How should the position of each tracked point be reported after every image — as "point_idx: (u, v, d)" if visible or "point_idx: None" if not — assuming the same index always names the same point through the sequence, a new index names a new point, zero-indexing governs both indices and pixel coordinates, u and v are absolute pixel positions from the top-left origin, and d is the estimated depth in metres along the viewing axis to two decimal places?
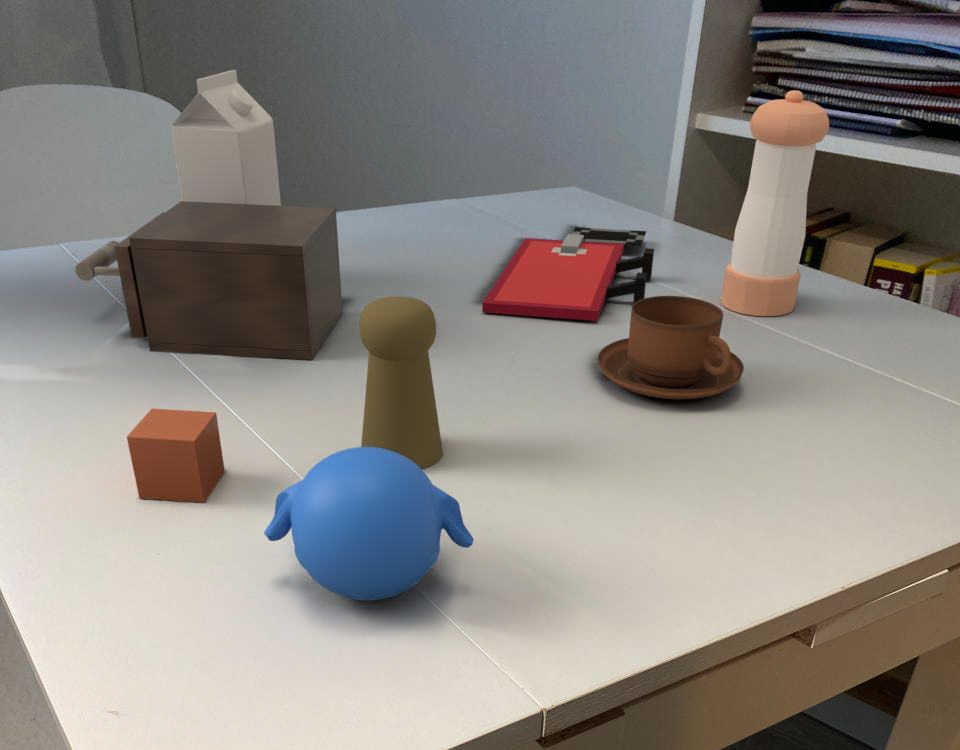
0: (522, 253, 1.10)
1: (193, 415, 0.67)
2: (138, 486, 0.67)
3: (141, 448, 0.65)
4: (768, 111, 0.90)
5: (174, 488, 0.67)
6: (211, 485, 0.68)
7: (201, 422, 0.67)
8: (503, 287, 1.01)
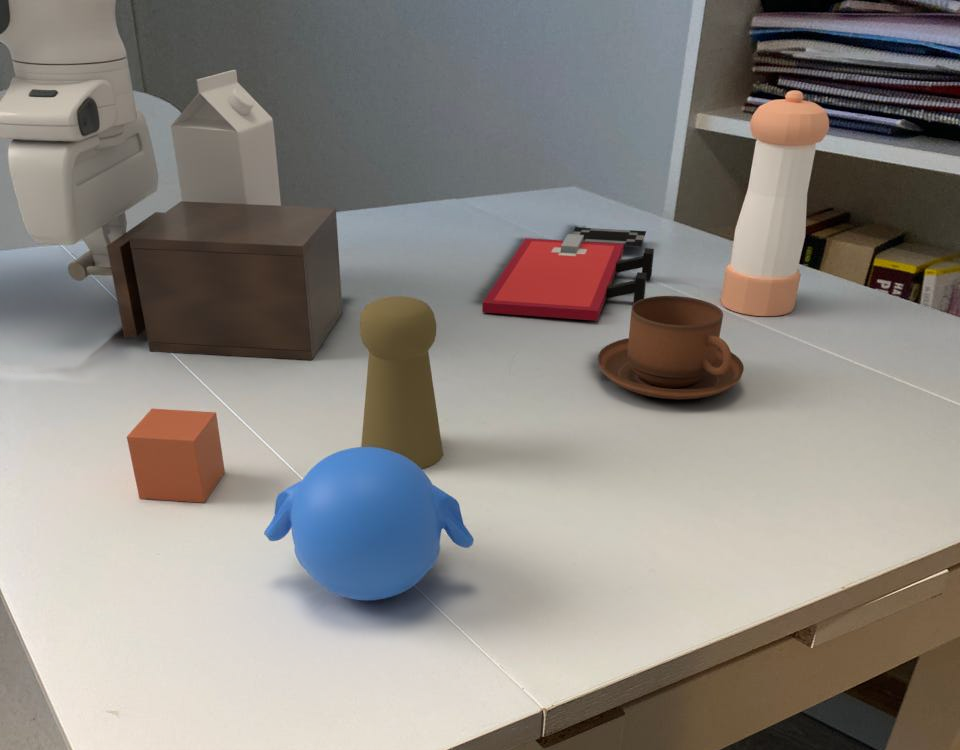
0: (522, 253, 1.10)
1: (193, 415, 0.67)
2: (138, 486, 0.67)
3: (141, 448, 0.65)
4: (768, 111, 0.90)
5: (174, 488, 0.67)
6: (211, 485, 0.68)
7: (201, 422, 0.67)
8: (503, 287, 1.01)
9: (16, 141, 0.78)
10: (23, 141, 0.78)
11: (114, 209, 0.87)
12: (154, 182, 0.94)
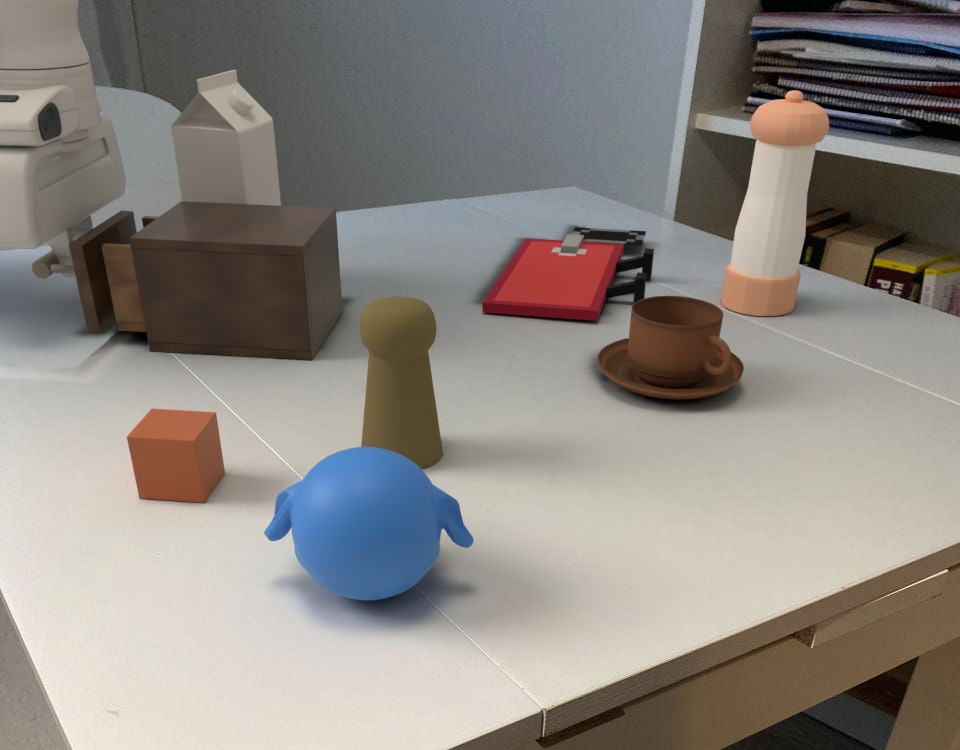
0: (522, 253, 1.10)
1: (193, 415, 0.67)
2: (138, 486, 0.67)
3: (141, 448, 0.65)
4: (768, 111, 0.90)
5: (174, 488, 0.67)
6: (211, 485, 0.68)
7: (201, 422, 0.67)
8: (503, 287, 1.01)
9: None
10: None
11: (78, 213, 0.87)
12: (121, 186, 0.95)
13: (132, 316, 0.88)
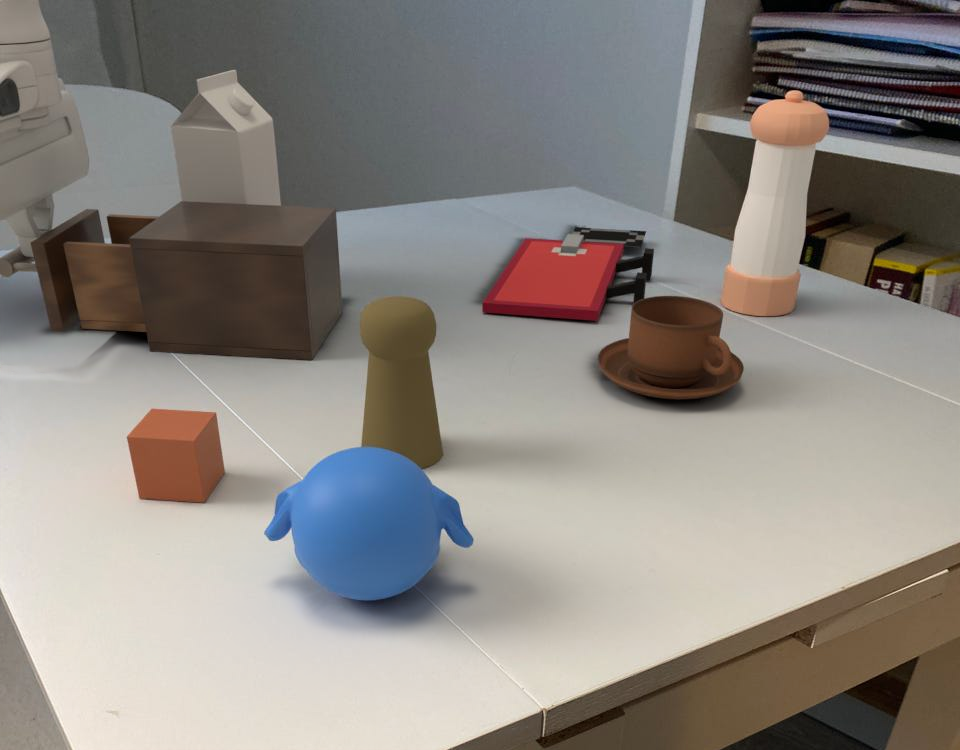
0: (522, 253, 1.10)
1: (193, 415, 0.67)
2: (138, 486, 0.67)
3: (141, 448, 0.65)
4: (768, 111, 0.90)
5: (174, 488, 0.67)
6: (211, 485, 0.68)
7: (201, 422, 0.67)
8: (503, 287, 1.01)
9: None
10: None
11: (38, 191, 0.87)
12: (84, 166, 0.94)
13: (95, 314, 0.89)
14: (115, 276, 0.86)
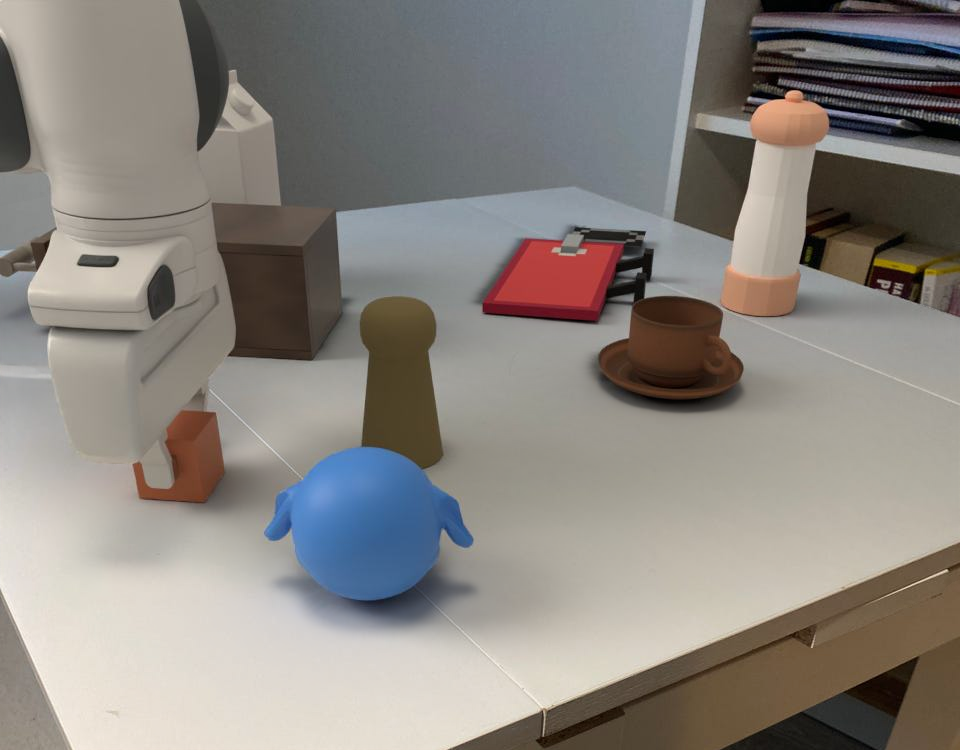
0: (522, 253, 1.10)
1: (194, 415, 0.67)
2: (138, 486, 0.67)
3: None
4: (768, 111, 0.90)
5: (174, 488, 0.67)
6: (211, 485, 0.68)
7: (201, 422, 0.67)
8: (503, 287, 1.01)
9: (59, 328, 0.55)
10: (69, 328, 0.55)
11: (186, 395, 0.64)
12: (231, 340, 0.71)
13: None
14: None
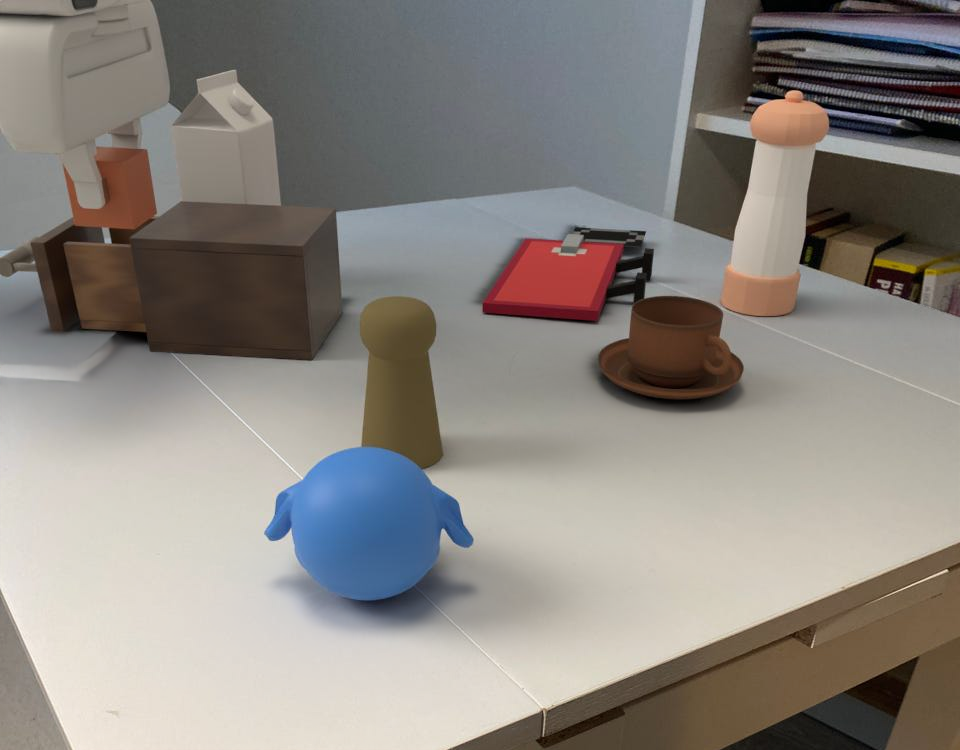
0: (522, 253, 1.10)
1: (126, 150, 0.73)
2: (73, 212, 0.73)
3: None
4: (768, 111, 0.90)
5: (106, 214, 0.72)
6: (142, 217, 0.74)
7: (132, 153, 0.72)
8: (503, 287, 1.01)
9: None
10: None
11: (115, 117, 0.69)
12: (165, 93, 0.77)
13: (95, 314, 0.89)
14: (115, 276, 0.86)
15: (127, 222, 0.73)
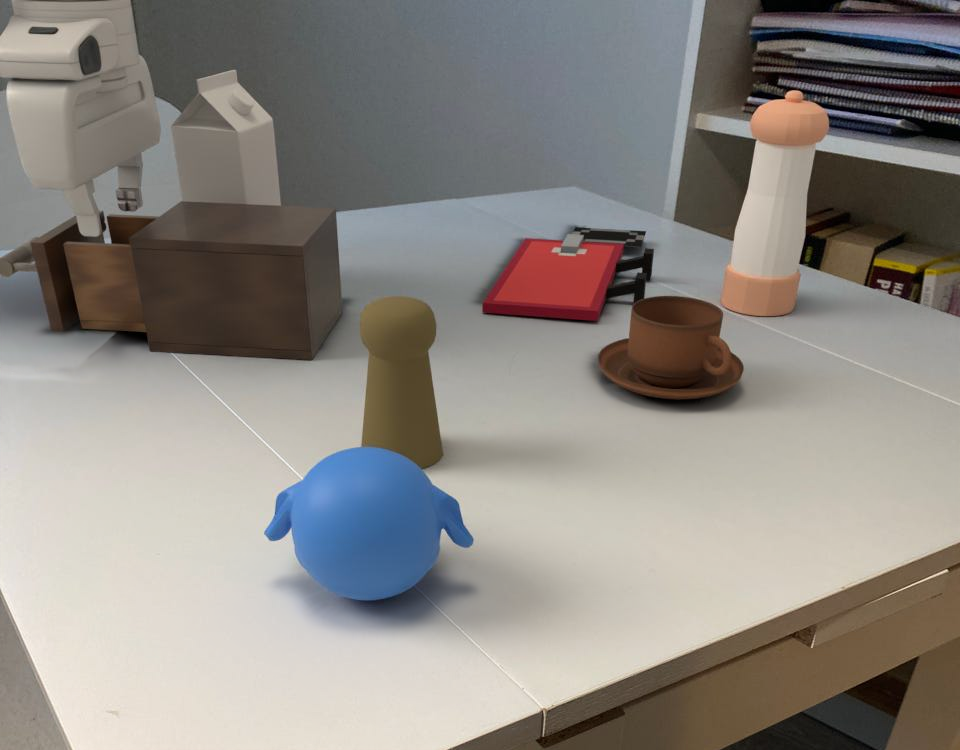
0: (522, 253, 1.10)
1: None
2: None
3: None
4: (768, 111, 0.90)
5: None
6: None
7: None
8: (503, 287, 1.01)
9: (15, 80, 0.75)
10: (22, 80, 0.75)
11: (115, 157, 0.84)
12: (156, 134, 0.92)
13: (95, 314, 0.89)
14: (115, 276, 0.86)
15: None
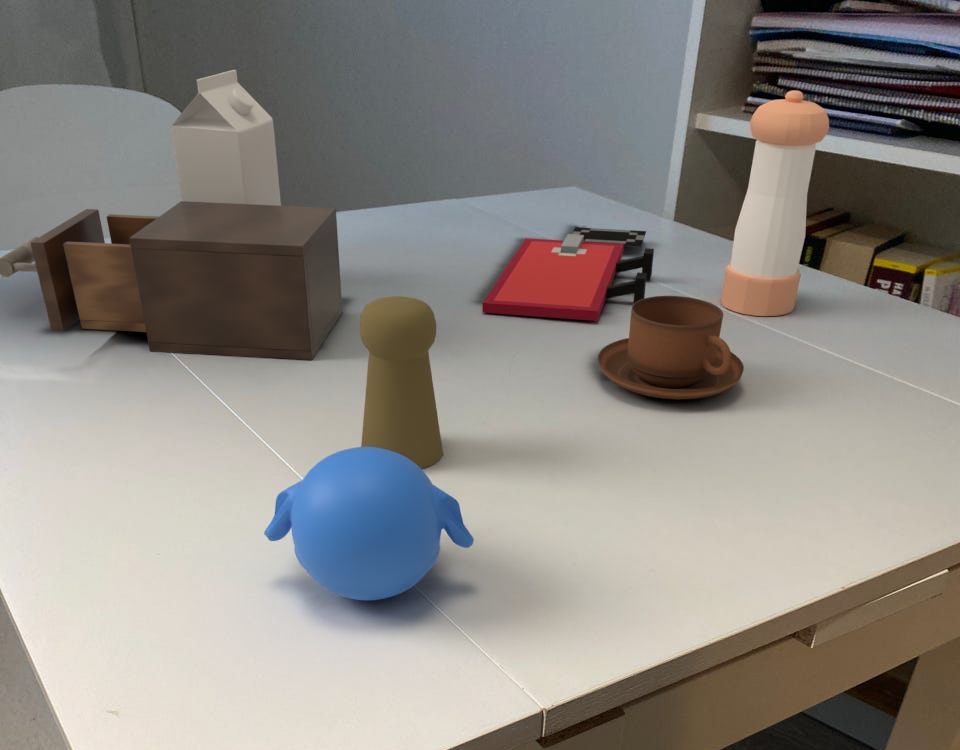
0: (522, 253, 1.10)
1: None
2: None
3: None
4: (768, 111, 0.90)
5: None
6: None
7: None
8: (503, 287, 1.01)
9: None
10: None
11: None
12: None
13: (95, 314, 0.89)
14: (115, 276, 0.86)
15: None
